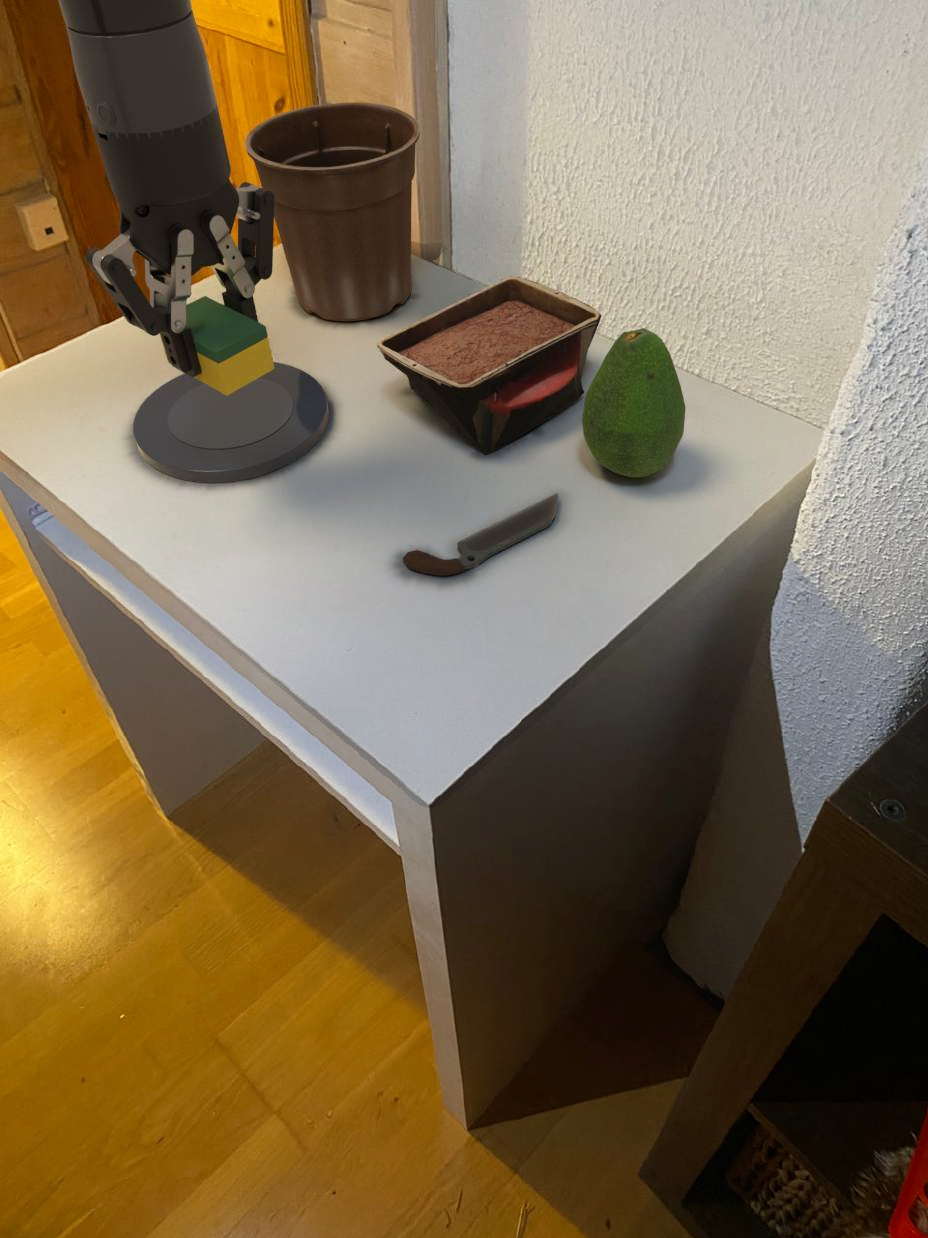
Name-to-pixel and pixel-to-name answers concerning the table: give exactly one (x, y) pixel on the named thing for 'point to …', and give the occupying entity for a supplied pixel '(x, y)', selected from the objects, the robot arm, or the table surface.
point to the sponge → (227, 345)
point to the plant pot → (341, 203)
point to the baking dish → (498, 359)
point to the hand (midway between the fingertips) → (217, 355)
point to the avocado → (634, 406)
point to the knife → (488, 540)
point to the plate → (231, 426)
